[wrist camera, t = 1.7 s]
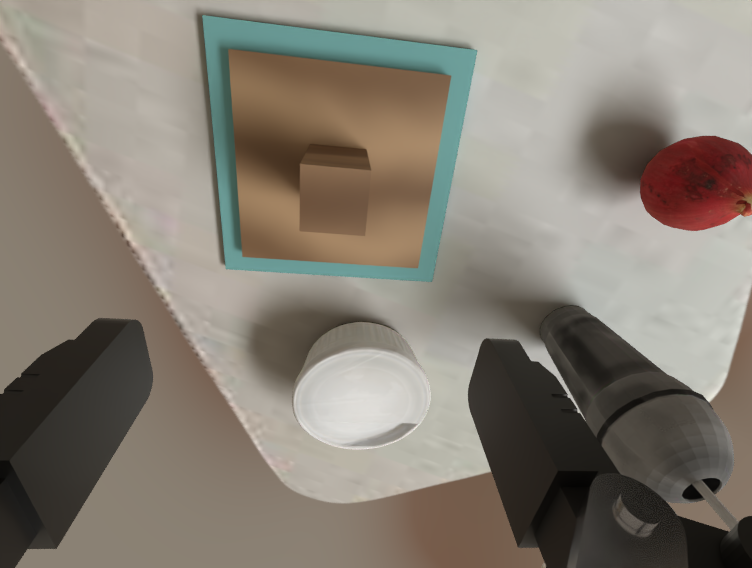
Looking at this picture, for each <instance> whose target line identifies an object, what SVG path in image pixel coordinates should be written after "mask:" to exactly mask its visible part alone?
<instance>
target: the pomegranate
mask: <svg viewBox="0 0 752 568" xmlns="http://www.w3.org/2000/svg"><path fill="white" fill-rule="evenodd" d="M640 195H641V199H642V202H643V204H644V207H645V209H646V211H647V212H648V213H649V214H650V215H651V216H652V217H654V218H655V219H657V220H658V221H659V222H661V223H662V224H664V225H667V226H670V227H673V228H678V229H683V230H690V231H698V230H705V229H708V228H712V227H715V226H719V225H722V224H725V223H727V222H728V221H730V220H732V219H733V218H735V217H737V216H738V215H740V214H741V215H743V216H744V217H745V216H749V215H752V155H751V154H750V153H749V151H748V150H747V149H746V148H744V147H743V146H741V145H740V144H739V143H736V142H733V141H730V140H727V139H723V138H720V137H717V136H699V137H693V138H687V139H683V140H681V141H678V142H676V143H674V144H672V145H670V146H668V147H666V148H664V149H662V150H661V151H659V152H658V153H657V154H656V155H655V156H654V157H653V159H652V160H651V161H650V162H649V163H648V164H647V165H646V168H645V170H644V172H643V175H642V177H641V179H640Z"/></svg>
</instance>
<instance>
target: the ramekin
mask: <svg viewBox="0 0 752 568" xmlns="http://www.w3.org/2000/svg"><path fill="white" fill-rule="evenodd" d="M430 399H431V394H430V386H429V382H428V378H427V376H426V373H425V371H424V369H423V368H422V366H421V365H420V364H419V363H418V361H417V359H416V357H415V355H414V353H413V351H412V349H411V347H410V346H409V344H408V343H407V342H406V340H405V339H404V338H403V337H402V336H401V335H400V334H398V333H397V332H396V331H394V330H392V329H391V328H388V327H385V326H383V325H379V324H376V323H369V322H354V323H348V324H345V325H341V326H339V327H336V328H333V329H332V330H330V331H328V332H327V333H325V334H324V335H322V336H321V337H320V338H319V339H318V340H317V341H316V342H315V343H314V344H313V346H312V348H311V349H310V351H309V353H308V356H307V358H306V361H305V363H304V366H303V369H302V370H301V372H300V373H299V375H298V377H297V379H296V381H295V384H294V388H293V394H292V407H293V412H294V416H295V418H296V420H297V421H298V423H299V424H300V426H301V427H302V428H303V429H304V430H305V431H306V432H307V433H308V434H310V435H311V436H312V437H314V438H316V439H317V440H319V441H321V442H323V443H326V444H329V445H331V446H335V447H339V448H345V449H371V448H378V447H382V446H386V445H388V444H391V443H394V442H396V441H398V440H400V439H402V438H404V437H405V436H407V435H408V434H410V433H411V432H412V431H413V430H415V429H416V428H417V427H418V426H419V424H420V423H421V422H422V421H423V419H424V417H425V415H426V413H427V411H428V409H429V406H430Z"/></svg>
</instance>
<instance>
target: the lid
mask: <svg viewBox="0 0 752 568" xmlns="http://www.w3.org/2000/svg"><path fill="white" fill-rule="evenodd" d="M228 54H229V69H230V83H231V98H232V112H233V127H234V142H235V156H236V171H237V186H238V200H239V215H240V229H241V244H242V257H250V258H265V259H281V260H296V261H311V262H327V263H342V264H357V265H373V266H388V267H403V268H418V266H419V260H420V255H421V249H422V243H423V237H424V231H425V226H426V220H427V214H428V208H429V203H430V197H431V191H432V185H433V180H434V174H435V168H436V162H437V156H438V151H439V145H440V139H441V133H442V128H443V122H444V116H445V110H446V104H447V99H448V93H449V87H450V81H451V75H443V74H435V73H426V72H418V71H409V70H401V69H393V68H384V67H376V66H368V65H359V64H351V63H342V62H334V61H326V60H317V59H309V58H300V57H292V56H284V55H275V54H267V53H258V52H250V51H242V50H233V49H228Z"/></svg>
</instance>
